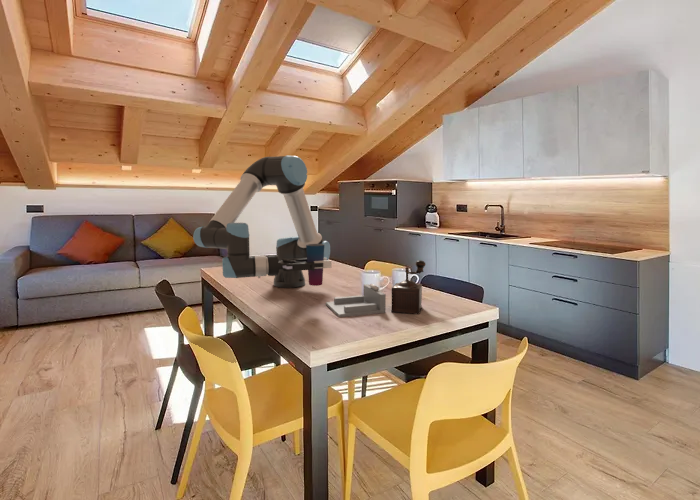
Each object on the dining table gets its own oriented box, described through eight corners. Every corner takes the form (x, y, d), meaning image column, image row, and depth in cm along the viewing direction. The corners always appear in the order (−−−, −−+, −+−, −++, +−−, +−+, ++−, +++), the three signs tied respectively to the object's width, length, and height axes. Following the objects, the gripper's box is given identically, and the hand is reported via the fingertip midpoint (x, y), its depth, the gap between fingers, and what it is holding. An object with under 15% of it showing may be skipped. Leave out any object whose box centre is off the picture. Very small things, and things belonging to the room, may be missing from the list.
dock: (325, 304, 166) (325, 283, 165) (368, 300, 172) (368, 280, 171) (338, 317, 149) (338, 293, 148) (385, 312, 155) (385, 290, 154)
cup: (321, 286, 154) (321, 246, 152) (304, 285, 155) (303, 245, 153) (326, 282, 160) (326, 243, 158) (309, 282, 162) (309, 243, 160)
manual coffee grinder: (420, 314, 153) (421, 266, 150) (390, 312, 156) (391, 264, 153) (425, 304, 167) (426, 259, 165) (397, 302, 170) (398, 258, 168)
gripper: (264, 271, 161) (322, 268, 168) (270, 281, 143) (335, 277, 150) (263, 252, 160) (322, 249, 167) (269, 259, 142) (335, 256, 149)
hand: (328, 262), depth 158 cm, fingers closed on cup, 6 cm apart
